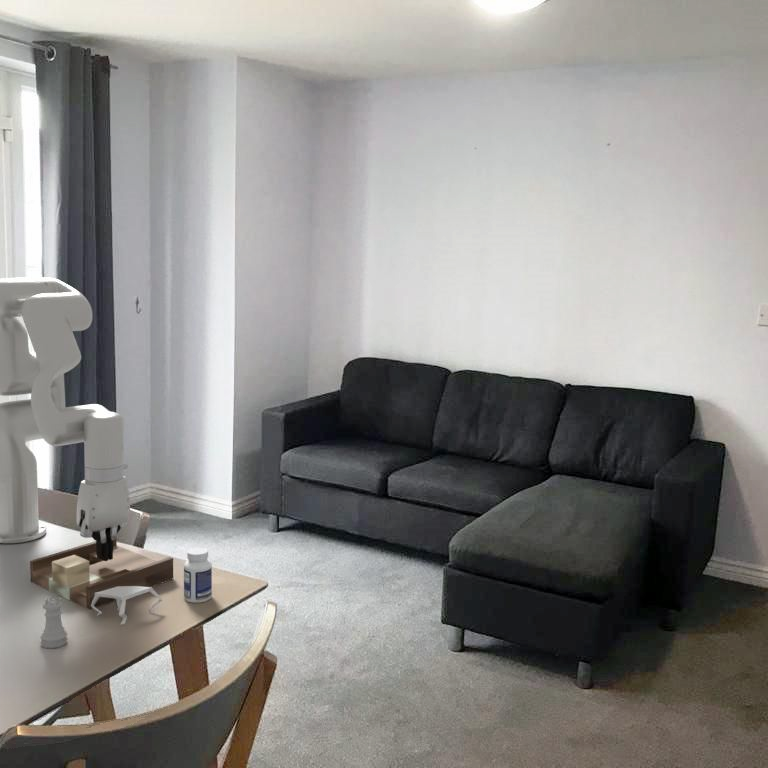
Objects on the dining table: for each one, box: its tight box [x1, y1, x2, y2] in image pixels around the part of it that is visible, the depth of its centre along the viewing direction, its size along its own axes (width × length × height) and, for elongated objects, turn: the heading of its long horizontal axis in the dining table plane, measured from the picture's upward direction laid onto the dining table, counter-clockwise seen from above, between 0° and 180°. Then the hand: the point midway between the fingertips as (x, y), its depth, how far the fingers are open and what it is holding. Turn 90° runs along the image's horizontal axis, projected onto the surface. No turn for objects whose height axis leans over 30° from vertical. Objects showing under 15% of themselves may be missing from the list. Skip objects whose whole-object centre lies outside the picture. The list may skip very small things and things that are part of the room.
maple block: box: [52, 555, 90, 588], centre depth 170 cm, size 5×5×4 cm
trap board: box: [29, 538, 174, 610], centre depth 177 cm, size 20×20×4 cm
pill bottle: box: [183, 547, 213, 604], centre depth 169 cm, size 5×5×10 cm
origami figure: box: [91, 586, 163, 625], centre depth 161 cm, size 12×8×5 cm
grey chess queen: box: [40, 596, 69, 649], centre depth 149 cm, size 4×4×8 cm
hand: (104, 558), depth 177 cm, fingers closed
